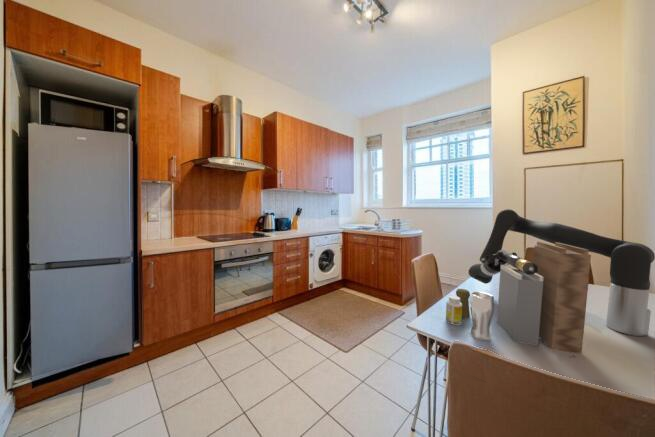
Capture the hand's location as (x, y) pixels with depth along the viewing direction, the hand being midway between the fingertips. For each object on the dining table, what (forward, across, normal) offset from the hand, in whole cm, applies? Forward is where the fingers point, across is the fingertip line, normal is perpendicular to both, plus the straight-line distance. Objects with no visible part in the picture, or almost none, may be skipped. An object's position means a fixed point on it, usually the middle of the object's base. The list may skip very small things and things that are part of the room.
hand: (508, 254), depth 96 cm
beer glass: (0, -13, +32) cm, 34 cm away
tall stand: (-4, +11, +29) cm, 31 cm away
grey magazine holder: (-5, 0, +28) cm, 29 cm away
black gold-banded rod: (+3, 0, +6) cm, 6 cm away
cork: (-14, -15, +24) cm, 32 cm away
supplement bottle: (-7, -20, +28) cm, 35 cm away
